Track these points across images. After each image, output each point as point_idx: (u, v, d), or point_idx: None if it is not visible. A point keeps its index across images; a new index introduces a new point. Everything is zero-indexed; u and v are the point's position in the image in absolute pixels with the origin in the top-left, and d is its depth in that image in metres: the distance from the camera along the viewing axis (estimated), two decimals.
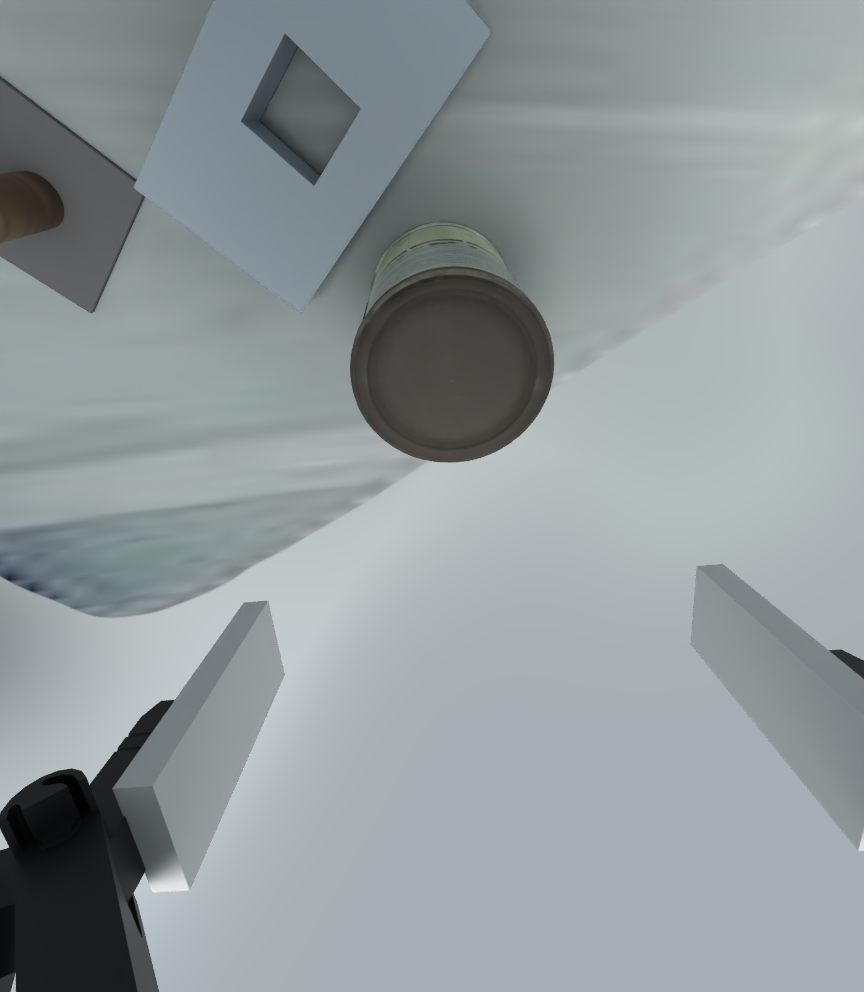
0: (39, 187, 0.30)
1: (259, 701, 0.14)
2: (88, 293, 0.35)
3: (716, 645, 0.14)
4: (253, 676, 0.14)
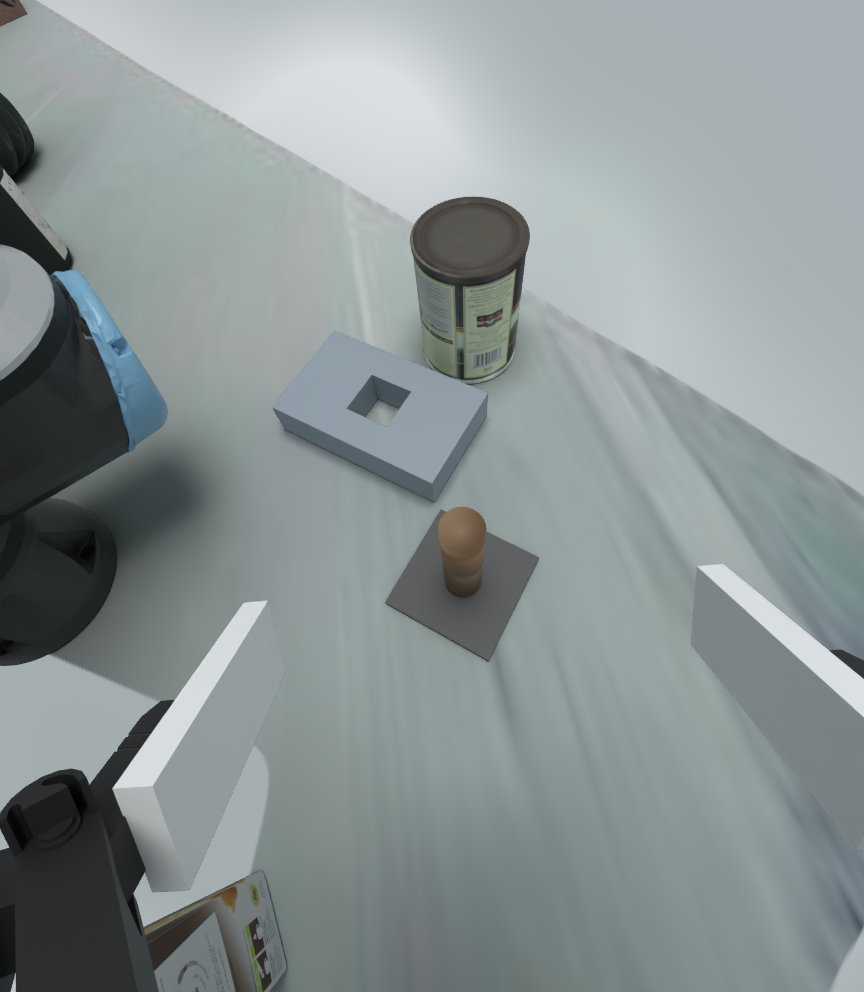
0: None
1: (259, 701, 0.14)
2: (523, 556, 0.44)
3: (717, 645, 0.14)
4: (253, 676, 0.14)
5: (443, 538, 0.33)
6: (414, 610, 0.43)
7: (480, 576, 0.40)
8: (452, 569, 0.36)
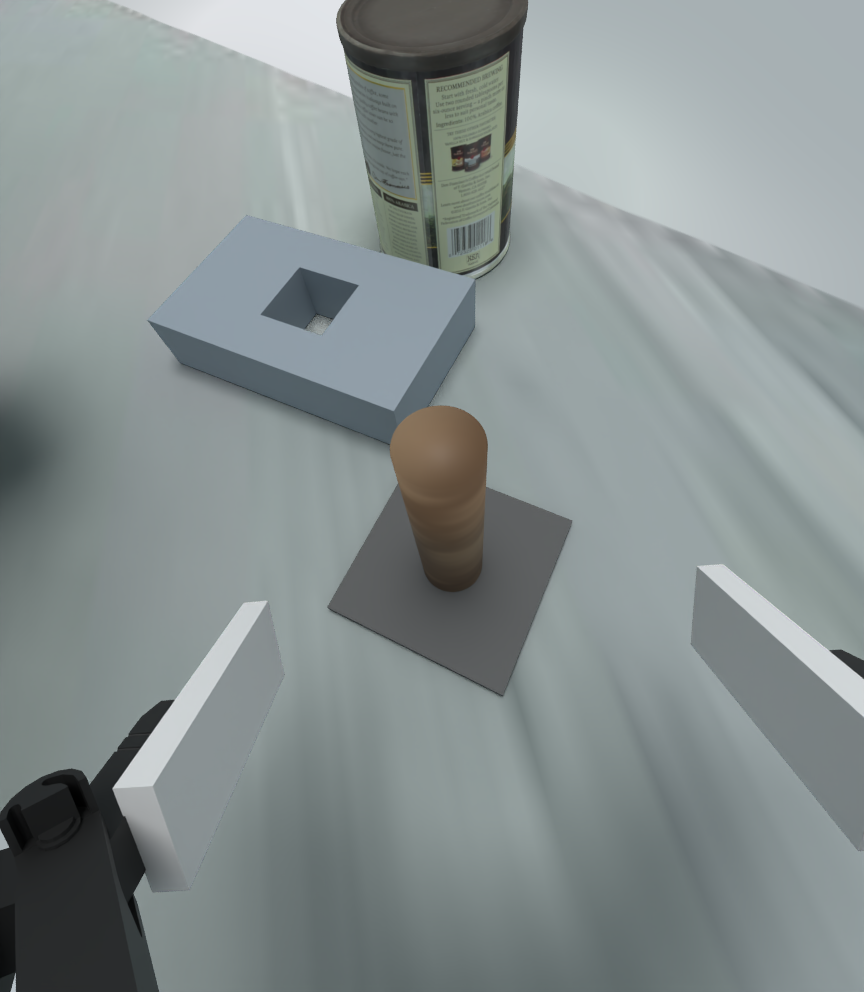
0: None
1: (259, 701, 0.14)
2: (546, 520, 0.28)
3: (717, 645, 0.14)
4: (253, 675, 0.14)
5: (400, 466, 0.16)
6: (374, 618, 0.26)
7: (480, 552, 0.24)
8: (428, 536, 0.20)
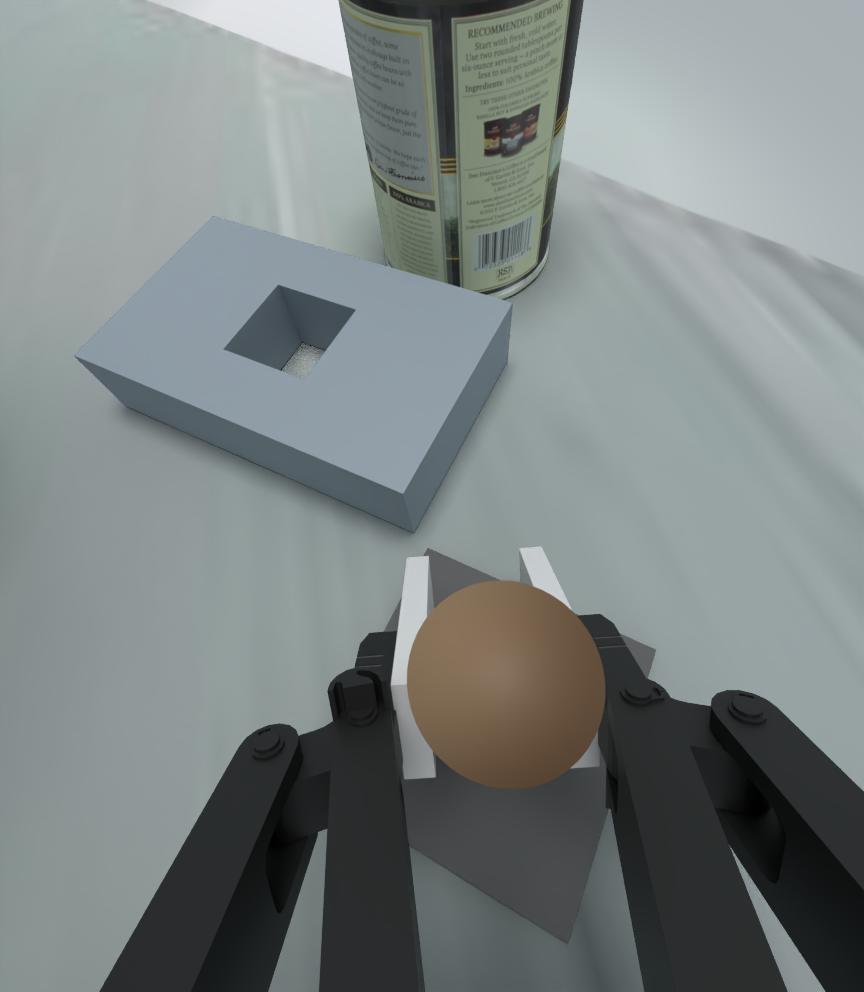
0: None
1: None
2: None
3: None
4: None
5: (429, 724, 0.08)
6: None
7: None
8: None
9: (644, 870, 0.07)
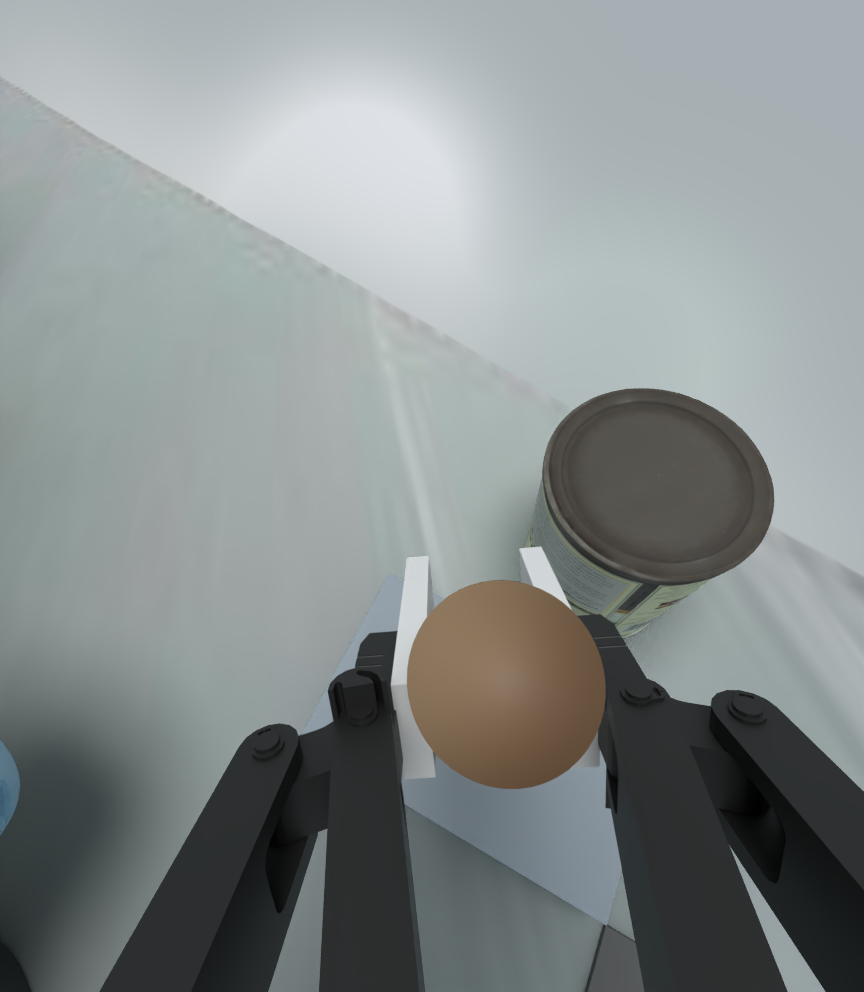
0: None
1: None
2: None
3: None
4: None
5: (429, 724, 0.08)
6: None
7: None
8: None
9: (644, 870, 0.07)
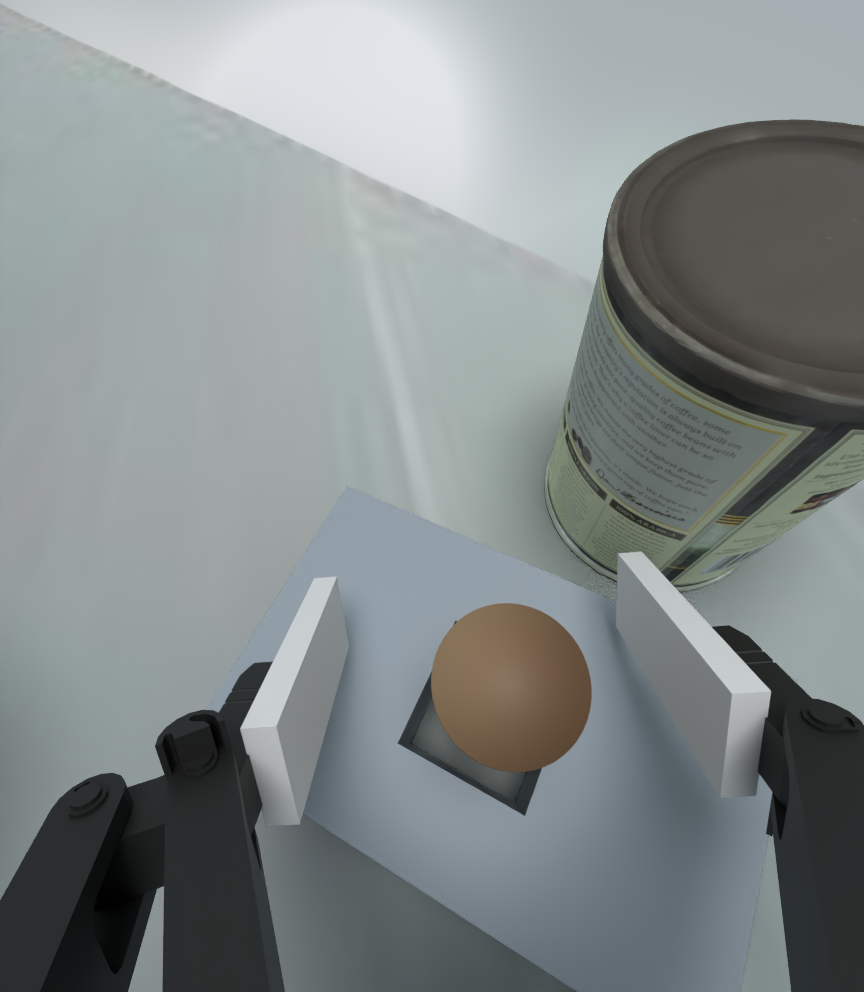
0: None
1: (334, 667, 0.15)
2: None
3: (632, 625, 0.15)
4: (330, 643, 0.15)
5: (450, 721, 0.10)
6: None
7: None
8: None
9: (812, 897, 0.07)
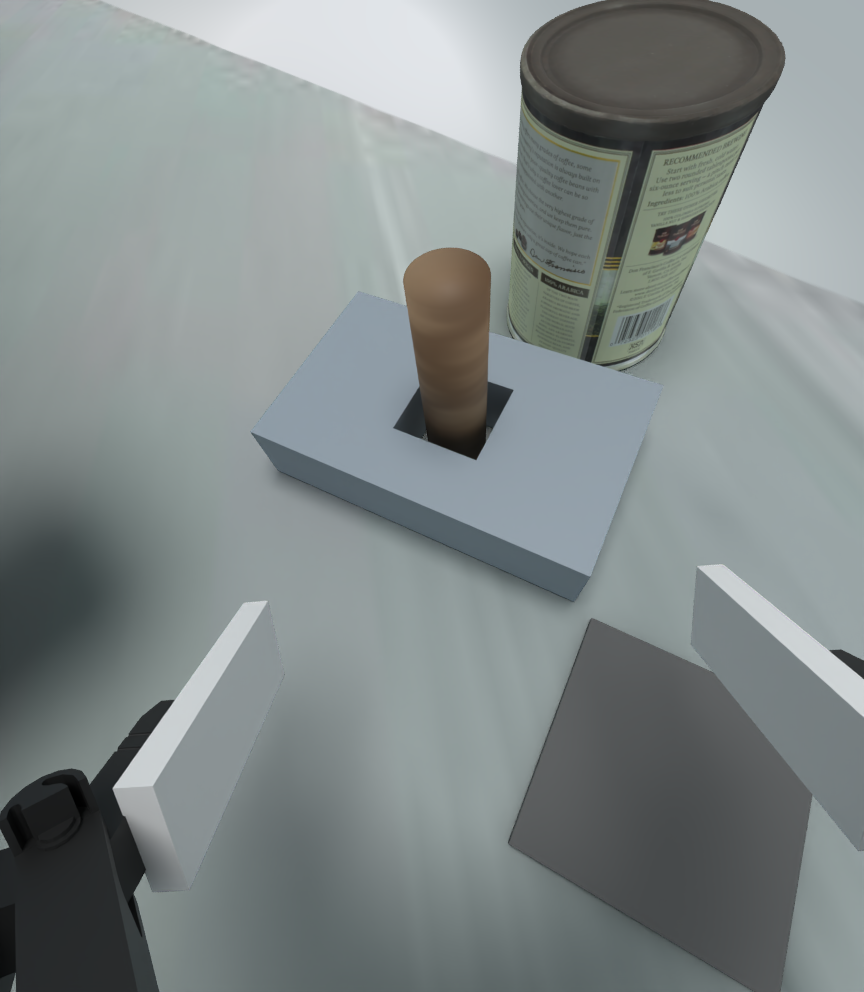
0: None
1: (259, 701, 0.14)
2: None
3: (717, 645, 0.14)
4: (253, 676, 0.14)
5: (413, 293, 0.18)
6: (576, 865, 0.19)
7: (484, 425, 0.25)
8: (436, 387, 0.22)
9: None
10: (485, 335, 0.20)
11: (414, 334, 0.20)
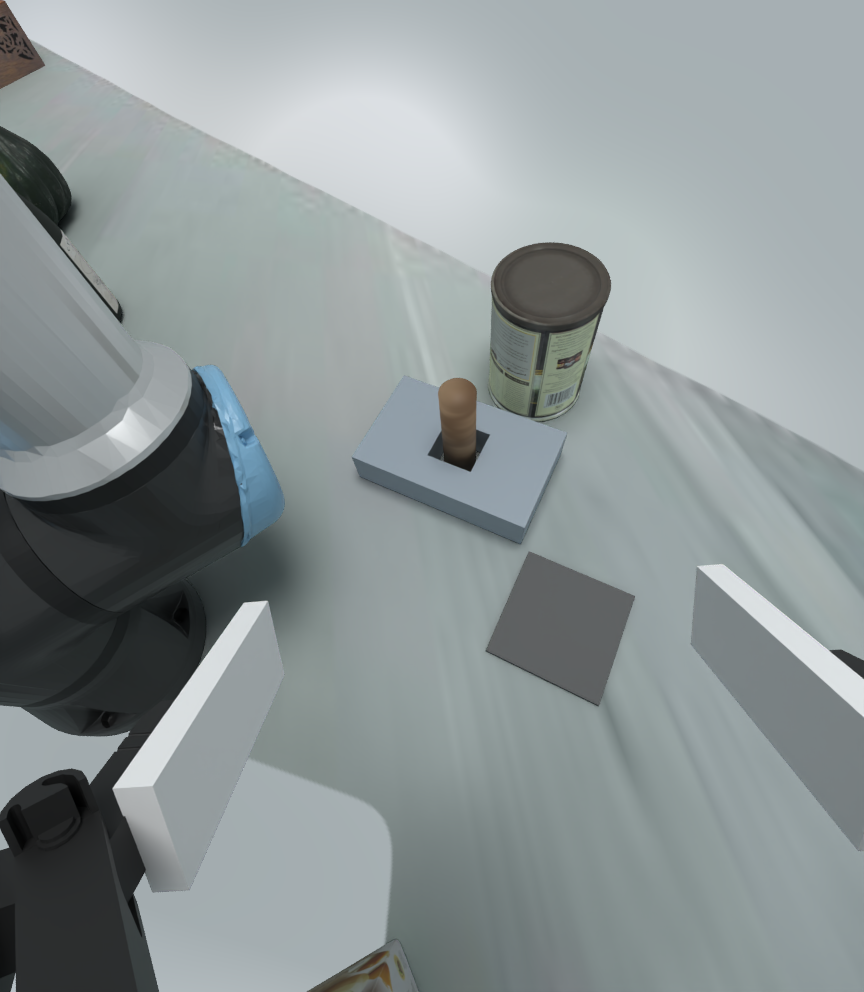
0: None
1: (259, 701, 0.14)
2: (618, 595, 0.44)
3: (717, 645, 0.14)
4: (253, 676, 0.14)
5: (442, 400, 0.41)
6: (516, 657, 0.43)
7: (474, 453, 0.49)
8: (451, 437, 0.45)
9: None
10: (474, 415, 0.43)
11: (442, 415, 0.43)
